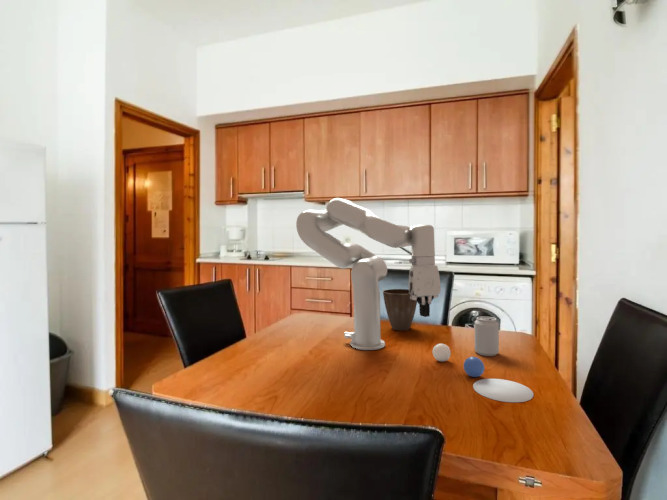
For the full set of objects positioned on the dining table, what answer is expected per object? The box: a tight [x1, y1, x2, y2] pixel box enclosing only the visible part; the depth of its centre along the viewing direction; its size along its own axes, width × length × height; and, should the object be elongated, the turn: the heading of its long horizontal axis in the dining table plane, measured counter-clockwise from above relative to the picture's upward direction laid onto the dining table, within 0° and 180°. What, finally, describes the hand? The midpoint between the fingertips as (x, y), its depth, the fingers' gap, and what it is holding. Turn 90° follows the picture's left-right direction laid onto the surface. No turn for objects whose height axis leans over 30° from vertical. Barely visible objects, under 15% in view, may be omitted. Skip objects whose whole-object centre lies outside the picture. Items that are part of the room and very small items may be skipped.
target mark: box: [472, 378, 534, 403], centre depth 95 cm, size 14×14×1 cm
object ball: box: [463, 356, 485, 378], centre depth 104 cm, size 6×6×6 cm
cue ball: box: [432, 343, 451, 363], centre depth 117 cm, size 6×6×6 cm
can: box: [474, 315, 500, 357], centre depth 124 cm, size 8×8×12 cm
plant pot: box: [382, 288, 418, 331], centre depth 158 cm, size 15×15×16 cm
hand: (424, 315), depth 125 cm, fingers closed
